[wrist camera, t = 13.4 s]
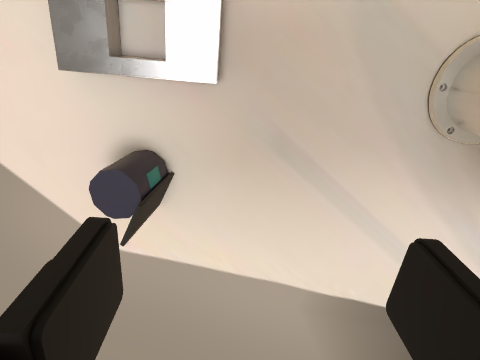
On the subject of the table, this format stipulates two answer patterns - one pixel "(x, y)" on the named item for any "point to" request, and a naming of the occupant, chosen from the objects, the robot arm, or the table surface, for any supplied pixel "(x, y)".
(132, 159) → the speaker
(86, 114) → the table surface
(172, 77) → the plate with square hole
